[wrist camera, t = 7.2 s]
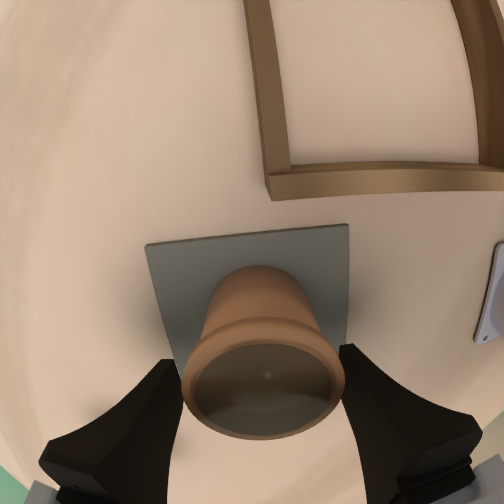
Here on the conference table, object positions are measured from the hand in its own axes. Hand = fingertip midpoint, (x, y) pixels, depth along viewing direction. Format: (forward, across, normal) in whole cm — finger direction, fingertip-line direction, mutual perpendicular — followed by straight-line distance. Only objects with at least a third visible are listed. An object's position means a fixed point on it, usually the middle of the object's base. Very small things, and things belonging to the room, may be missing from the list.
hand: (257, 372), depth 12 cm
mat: (+4, 0, 0) cm, 4 cm away
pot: (+4, 0, -1) cm, 4 cm away
